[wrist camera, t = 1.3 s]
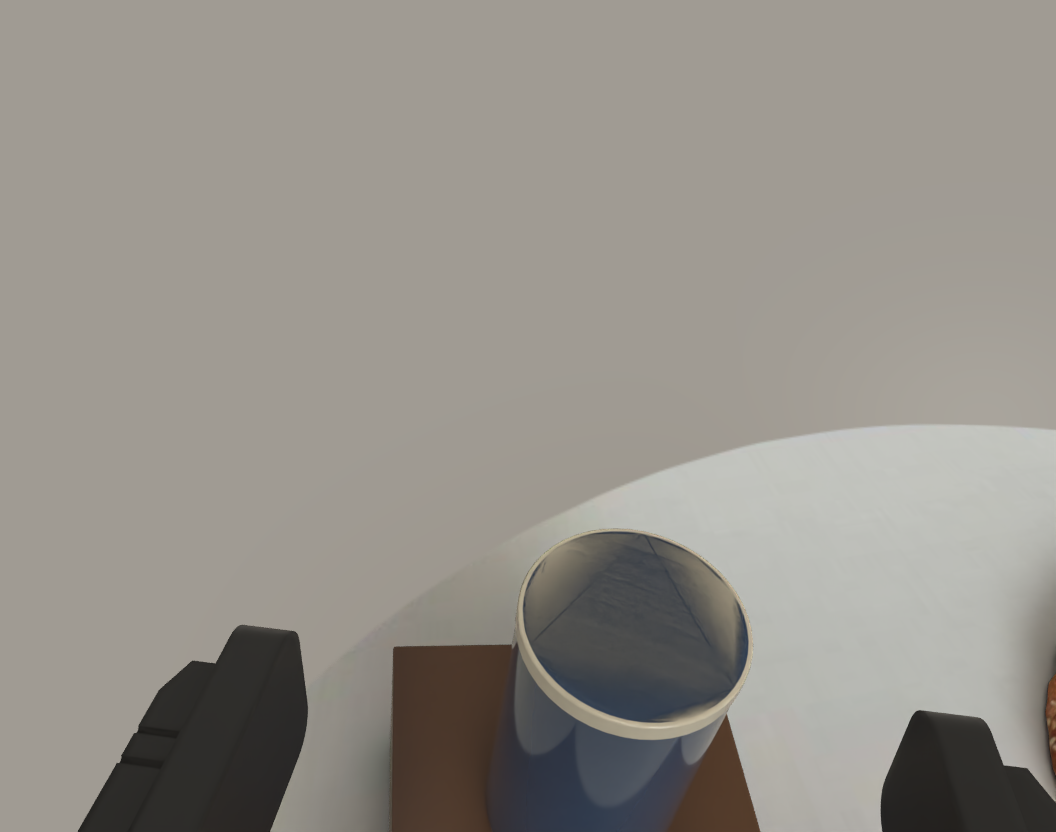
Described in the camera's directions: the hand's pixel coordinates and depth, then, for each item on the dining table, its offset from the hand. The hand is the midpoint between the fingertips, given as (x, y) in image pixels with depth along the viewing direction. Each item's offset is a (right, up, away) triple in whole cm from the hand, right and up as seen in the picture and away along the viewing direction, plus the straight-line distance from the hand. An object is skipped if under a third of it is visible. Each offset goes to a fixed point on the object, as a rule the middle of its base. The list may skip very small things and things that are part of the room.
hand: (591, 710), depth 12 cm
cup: (+1, -9, +18) cm, 20 cm away
